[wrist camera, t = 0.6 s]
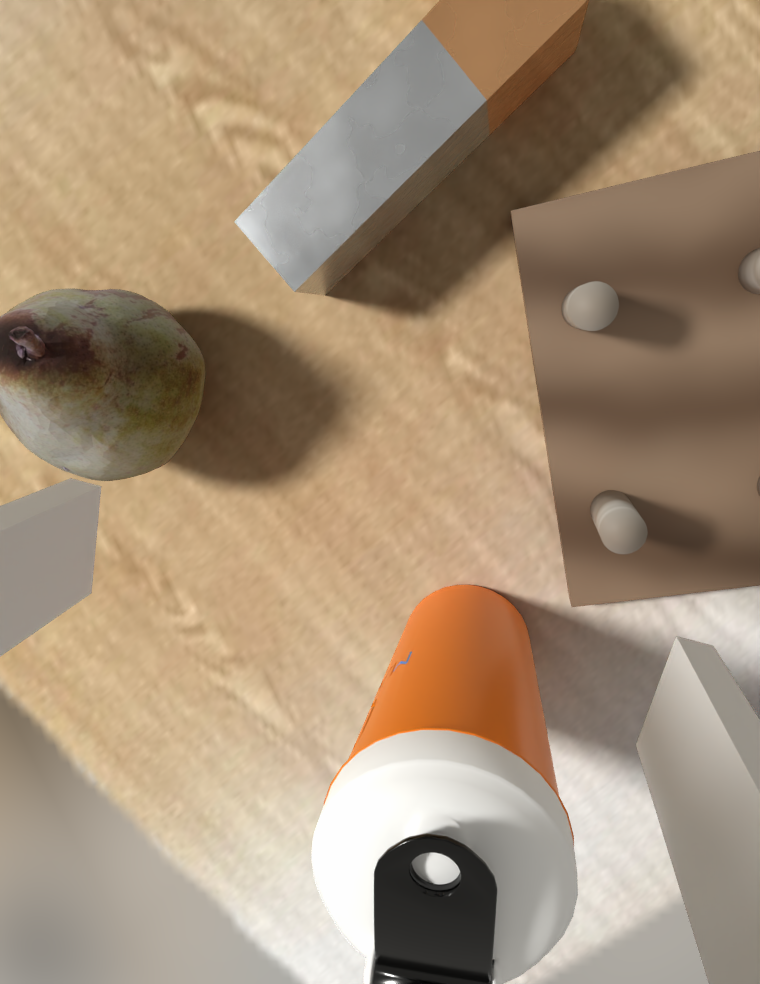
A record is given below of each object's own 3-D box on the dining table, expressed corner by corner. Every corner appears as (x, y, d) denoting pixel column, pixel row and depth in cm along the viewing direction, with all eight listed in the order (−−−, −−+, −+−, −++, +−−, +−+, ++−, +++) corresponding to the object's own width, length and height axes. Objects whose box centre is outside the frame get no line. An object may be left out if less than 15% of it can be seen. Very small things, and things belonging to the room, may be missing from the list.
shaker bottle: (539, 561, 37) (577, 817, 18) (553, 708, 39) (599, 1078, 20) (379, 573, 39) (262, 817, 20) (400, 713, 41) (310, 1056, 22)
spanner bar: (324, 295, 36) (294, 291, 31) (274, 235, 36) (234, 221, 30) (575, 51, 31) (589, -3, 26) (519, -20, 31) (522, -89, 26)
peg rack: (510, 215, 33) (512, 196, 28) (803, 145, 31) (865, 109, 25) (569, 596, 38) (579, 641, 32) (831, 564, 35) (890, 608, 30)
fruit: (232, 295, 37) (110, 285, 25) (235, 467, 39) (124, 528, 28) (58, 288, 38) (-132, 276, 27) (70, 454, 41) (-99, 507, 29)
